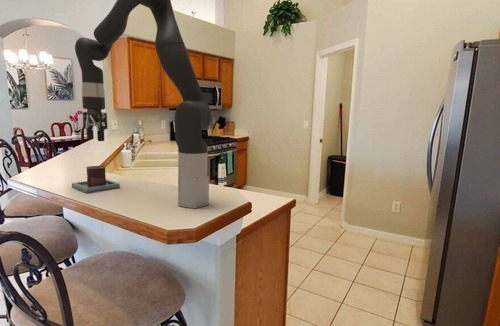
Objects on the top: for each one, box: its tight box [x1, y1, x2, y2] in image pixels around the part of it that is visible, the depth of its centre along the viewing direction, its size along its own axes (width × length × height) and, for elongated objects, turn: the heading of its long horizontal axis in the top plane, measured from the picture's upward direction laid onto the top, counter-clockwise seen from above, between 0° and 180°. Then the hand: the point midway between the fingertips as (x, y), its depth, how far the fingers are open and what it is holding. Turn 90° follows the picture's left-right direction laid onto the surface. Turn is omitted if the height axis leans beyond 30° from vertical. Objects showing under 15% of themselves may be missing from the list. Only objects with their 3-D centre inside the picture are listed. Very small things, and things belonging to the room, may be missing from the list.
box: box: [86, 165, 107, 187], centre depth 119 cm, size 6×6×7 cm
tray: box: [71, 179, 121, 194], centre depth 120 cm, size 12×12×2 cm
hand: (95, 140), depth 117 cm, fingers open, 8 cm apart
